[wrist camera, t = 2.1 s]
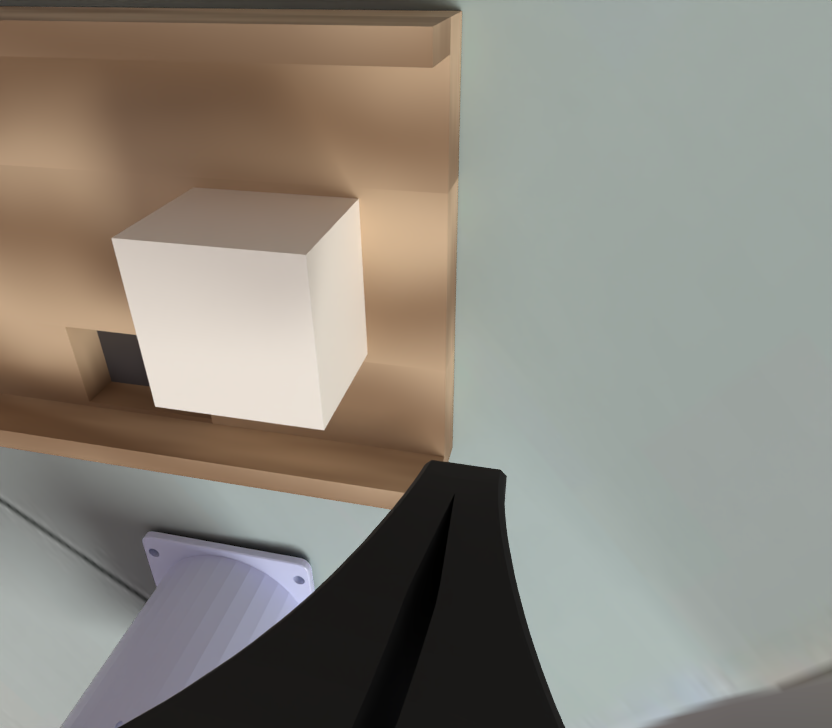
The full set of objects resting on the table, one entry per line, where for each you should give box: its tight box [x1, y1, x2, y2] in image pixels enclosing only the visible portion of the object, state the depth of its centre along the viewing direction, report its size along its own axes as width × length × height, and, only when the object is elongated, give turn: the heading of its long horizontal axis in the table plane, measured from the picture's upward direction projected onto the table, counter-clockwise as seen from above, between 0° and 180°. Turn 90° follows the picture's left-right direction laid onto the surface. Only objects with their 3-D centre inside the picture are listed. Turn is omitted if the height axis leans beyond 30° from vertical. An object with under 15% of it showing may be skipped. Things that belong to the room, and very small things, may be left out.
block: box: [111, 187, 368, 430], centre depth 19 cm, size 5×5×4 cm
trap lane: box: [0, 6, 462, 510], centre depth 22 cm, size 14×29×4 cm, turn 91°
